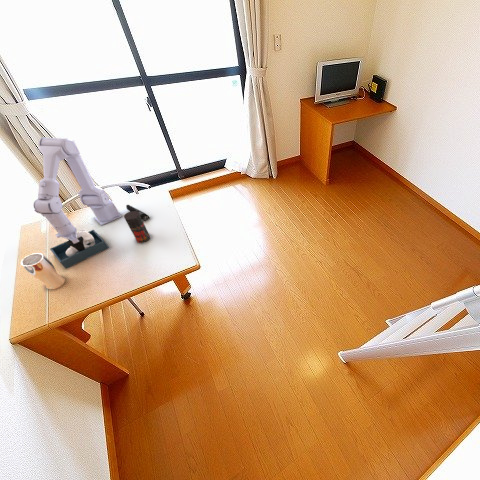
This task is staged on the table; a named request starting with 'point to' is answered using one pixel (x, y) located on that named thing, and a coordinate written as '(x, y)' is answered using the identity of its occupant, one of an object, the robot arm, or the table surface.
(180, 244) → the table surface
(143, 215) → the electric trimmer
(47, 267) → the beige tall cylinder
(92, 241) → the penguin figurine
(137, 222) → the deodorant
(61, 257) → the bin
